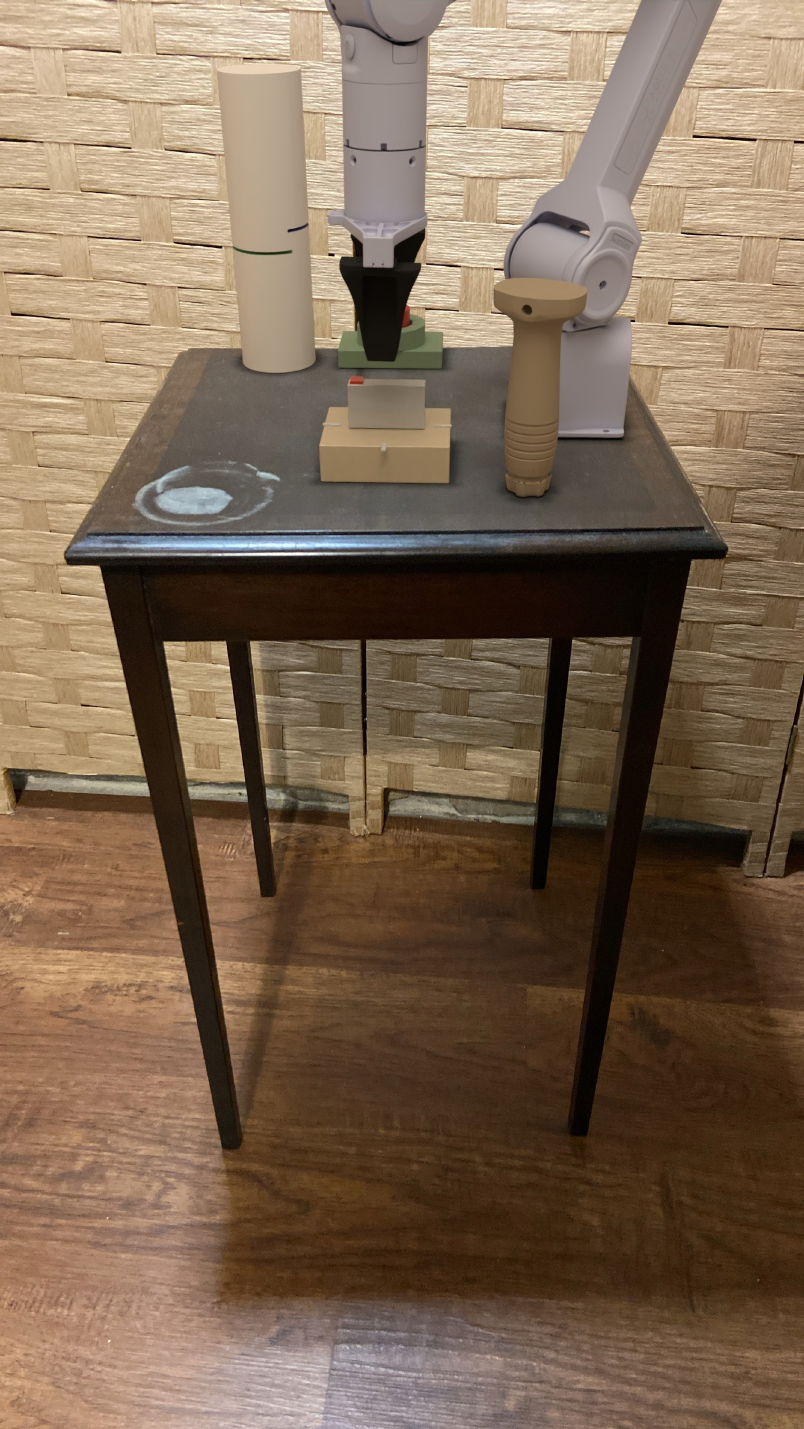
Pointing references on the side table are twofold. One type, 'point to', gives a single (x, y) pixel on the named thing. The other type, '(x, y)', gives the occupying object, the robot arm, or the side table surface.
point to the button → (406, 317)
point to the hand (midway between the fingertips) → (384, 343)
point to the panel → (386, 450)
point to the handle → (534, 375)
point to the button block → (412, 350)
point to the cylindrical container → (268, 213)
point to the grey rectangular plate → (386, 403)
